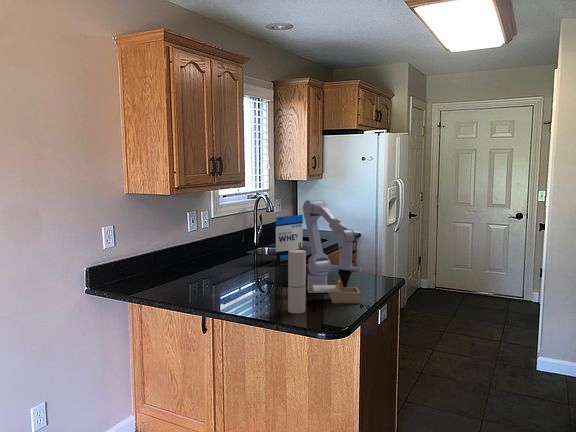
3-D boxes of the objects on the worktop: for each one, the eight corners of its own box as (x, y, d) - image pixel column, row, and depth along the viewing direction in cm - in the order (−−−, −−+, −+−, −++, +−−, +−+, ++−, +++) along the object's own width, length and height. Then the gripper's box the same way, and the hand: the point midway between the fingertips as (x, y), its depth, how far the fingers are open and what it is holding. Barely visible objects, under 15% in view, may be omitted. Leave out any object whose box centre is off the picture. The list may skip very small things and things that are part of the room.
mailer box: (332, 304, 208) (332, 292, 208) (330, 297, 218) (330, 287, 218) (360, 304, 209) (360, 292, 208) (356, 297, 219) (356, 287, 218)
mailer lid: (314, 292, 208) (314, 285, 207) (312, 286, 218) (312, 279, 218) (342, 292, 208) (342, 285, 208) (339, 286, 218) (339, 279, 218)
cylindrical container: (304, 308, 202) (305, 249, 199) (305, 313, 195) (306, 252, 192) (287, 308, 202) (288, 249, 199) (288, 313, 195) (288, 252, 192)
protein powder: (270, 266, 290) (270, 216, 287) (296, 260, 307) (297, 214, 304) (281, 268, 283) (281, 217, 280) (308, 262, 301) (308, 215, 298)
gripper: (363, 256, 212) (363, 286, 213) (333, 253, 218) (332, 283, 220) (359, 259, 206) (358, 290, 207) (327, 256, 212) (327, 286, 213)
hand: (344, 286), depth 213 cm, fingers closed
